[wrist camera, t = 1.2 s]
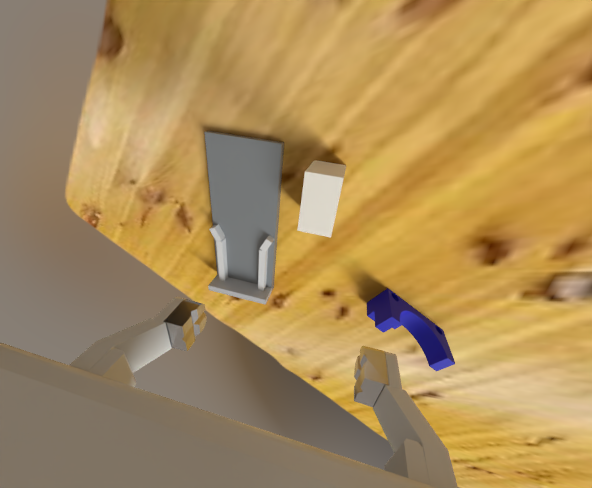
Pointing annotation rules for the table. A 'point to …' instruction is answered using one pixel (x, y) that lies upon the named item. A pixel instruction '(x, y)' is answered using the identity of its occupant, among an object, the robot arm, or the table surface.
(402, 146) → the table surface
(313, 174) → the panel block
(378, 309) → the cable clip
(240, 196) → the mounting plate
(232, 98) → the table surface
